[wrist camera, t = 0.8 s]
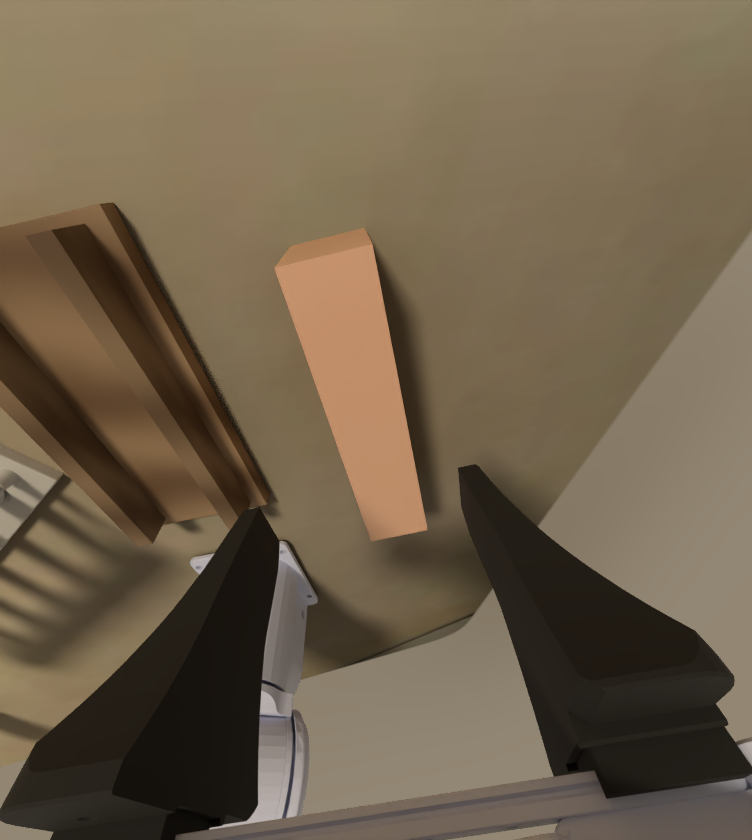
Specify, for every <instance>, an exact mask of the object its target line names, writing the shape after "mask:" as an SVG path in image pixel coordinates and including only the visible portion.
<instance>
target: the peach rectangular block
mask: <svg viewBox="0 0 752 840" xmlns="http://www.w3.org/2000/svg"><path fill="white" fill-rule="evenodd" d="M275 271H276V274H277V277H278V279H279V282H280V285H281V288H282V291H283V294H284V296H285V299H286V302H287V305H288V308H289V310H290V313H291V316H292V319H293V322H294V325H295V327H296V330H297V333H298V336H299V339H300V342H301V344H302V347H303V350H304V353H305V356H306V359H307V361H308V364H309V367H310V370H311V373H312V375H313V378H314V381H315V384H316V387H317V390H318V392H319V395H320V398H321V401H322V404H323V407H324V409H325V412H326V415H327V418H328V421H329V423H330V426H331V429H332V432H333V435H334V438H335V440H336V443H337V446H338V449H339V452H340V455H341V457H342V460H343V463H344V466H345V469H346V472H347V474H348V477H349V480H350V483H351V486H352V488H353V491H354V494H355V497H356V500H357V503H358V505H359V508H360V511H361V514H362V517H363V520H364V522H365V525H366V528H367V531H368V534H369V536H370V539H371V541H376V540H381V539H386V538H391V537H396V536H401V535H406V534H411V533H416V532H421V531H425V530H427V525H426V519H425V514H424V509H423V504H422V499H421V493H420V488H419V483H418V478H417V473H416V468H415V462H414V457H413V452H412V447H411V442H410V436H409V431H408V426H407V421H406V416H405V410H404V405H403V400H402V395H401V390H400V385H399V379H398V374H397V369H396V364H395V359H394V353H393V348H392V343H391V338H390V333H389V327H388V322H387V317H386V312H385V307H384V302H383V296H382V291H381V286H380V281H379V276H378V270H377V265H376V260H375V255H374V250H373V244H372V242H371V240H370V238H369V236H368V234H367V232H366V230H365V228H362V229H358V230H354V231H350V232H346V233H342V234H338V235H334V236H330V237H326V238H322V239H318V240H314V241H310V242H306V243H301V244H297V245H293V246H290V248H289V249H288V250H287V252H286V253H285V254H284V256H283V257H282V258H281V260H280V261H279V263H278V264H277V265H276V267H275Z"/></svg>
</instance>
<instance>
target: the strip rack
mask: <svg viewBox="0 0 752 840" xmlns="http://www.w3.org/2000/svg"><path fill="white" fill-rule="evenodd" d="M0 406H1V407H2V409H3V410H4V411H5V412H6V413H7V414H8V415H9V416H10V417H11V418H12V419H13V420H14V421H15V422H16V423H17V424H18V425H19V426H20V427H21V428H22V429H23V430H24V431H25V432H26V433H27V434H28V435H29V436H30V437H31V438H32V439H33V440H34V441H35V442H36V443H37V444H38V445H39V446H40V447H41V448H42V449H43V450H44V451H45V452H46V453H47V454H48V455H49V456H50V457H51V458H52V459H53V460H54V461H55V462H56V463H57V464H58V465H59V467H60V468H61V469H62V470H63V471H64V472H65V473H66V474H67V475H68V476H69V477H70V478H71V479H72V480H73V481H74V482H75V483H76V484H77V485H78V486H79V487H80V488H81V489H82V490H83V491H84V492H85V493H86V494H87V495H88V496H89V497H90V498H91V499H92V500H93V501H94V502H95V503H96V504H97V505H98V506H99V507H100V508H101V509H102V510H103V511H104V512H105V513H106V514H107V515H108V516H109V517H110V518H111V519H112V520H113V521H114V522H115V524H116V525H117V526H118V527H119V528H120V529H121V530H122V531H123V532H124V533H125V534H126V535H127V536H128V537H129V538H130V539H131V540H132V541H133V542H134V543H135V544H136V545H137V546H143V545H149V544H153V542H154V540H155V539H156V537H157V535H158V533H159V531H160V529H161V527H162V525H163V524H169V523H174V522H179V521H184V520H189V519H194V518H200V517H205V516H210V515H215V514H219V516H220V517H221V519H222V520H223V521H224V523H225V524H226V526H227V527H228V529H231V528H232V527H233V525H234V524H235V522H236V521H237V519H238V518H239V516H240V515H241V513H242V512H243V511H245V510H249V508H251V507H257V506H262V505H267V501H268V497H269V492H268V490H267V489H266V487H265V485H264V483H263V481H262V479H261V477H260V476H259V474H258V472H257V470H256V468H255V466H254V464H253V462H252V461H251V459H250V457H249V455H248V453H247V451H246V449H245V448H244V446H243V444H242V442H241V440H240V438H239V436H238V434H237V433H236V431H235V429H234V427H233V425H232V423H231V421H230V420H229V418H228V416H227V414H226V412H225V410H224V408H223V407H222V405H221V403H220V401H219V399H218V397H217V395H216V393H215V392H214V390H213V388H212V386H211V384H210V382H209V380H208V379H207V377H206V375H205V373H204V371H203V369H202V367H201V365H200V364H199V362H198V360H197V358H196V356H195V354H194V352H193V351H192V349H191V347H190V345H189V343H188V341H187V339H186V338H185V336H184V334H183V332H182V330H181V328H180V326H179V324H178V323H177V321H176V319H175V317H174V315H173V313H172V311H171V310H170V308H169V306H168V304H167V302H166V300H165V298H164V297H163V295H162V293H161V291H160V289H159V287H158V285H157V283H156V282H155V280H154V278H153V276H152V274H151V272H150V270H149V269H148V267H147V265H146V263H145V261H144V259H143V257H142V255H141V254H140V252H139V250H138V248H137V246H136V244H135V242H134V241H133V239H132V237H131V235H130V233H129V231H128V229H127V228H126V226H125V224H124V222H123V220H122V218H121V216H120V214H119V213H118V211H117V209H116V207H115V205H114V203H105V204H98V205H94V206H89V207H85V208H81V209H77V210H73V211H68V212H64V213H60V214H56V215H52V216H47V217H43V218H39V219H35V220H30V221H26V222H22V223H18V224H14V225H9V226H5V227H1V228H0Z"/></svg>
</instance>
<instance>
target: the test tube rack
mask: <svg viewBox="0 0 752 840" xmlns="http://www.w3.org/2000/svg"><path fill="white" fill-rule="evenodd" d="M63 474H64V473H62V472H60V471H58V470H56V469H54V468H52V467H50V466H47V465H45V464H43V463H41V462H39V461H37V460H34V459H32V458H30V457H28V456H26V455H24V454H21V453H19V452H17V451H15V450H13V449H11V448H9V447H6V446H4V445H2V444H0V551H1V550H2V549H3V547H4V546H5V545H6V544H7V542H8V541H9V540H10V539H11V538H12V536H13V535H14V534H15V533H16V531H17V530H18V529H19V528H20V527H21V525H22V524H23V523H24V522H25V521H26V519H27V518H28V517H29V516H30V514H31V513H32V512H33V511H34V510H35V508H36V507H37V506H38V505H39V503H40V502H41V501H42V500H43V499H44V497H45V496H46V495H47V494H48V493H49V491H50V490H51V489H52V488H53V486H54V485H55V484H56V483H57V482H58V480H59V479H60V478H61V477H62V475H63Z"/></svg>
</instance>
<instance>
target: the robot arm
mask: <svg viewBox="0 0 752 840" xmlns="http://www.w3.org/2000/svg"><path fill="white" fill-rule="evenodd" d="M458 472H459V484H460V496H461V507H462V510H463V514H464V517H465V520H466V523H467V527H468V530H469V533H470V535H471V538H472V540H473V542H474V545H475V547H476V550H477V552H478V554H479V556H480V559H481V561H482V563H483V566H484V568H485V570H486V573H487V575H488V577H489V580H490V582H491V584H492V587H493V589H494V591H495V594H496V596H497V599H498V601H499V604H500V606H501V609H502V612H503V615H504V618H505V621H506V624H507V627H508V630H509V634H510V637H511V640H512V643H513V646H514V649H515V652H516V655H517V658H518V661H519V665H520V667H521V671H522V674H523V677H524V680H525V684H526V687H527V690H528V693H529V697H530V700H531V703H532V706H533V710H534V713H535V716H536V720H537V723H538V726H539V730H540V733H541V736H542V740H543V743H544V747H545V750H546V753H547V757H548V760H549V764H550V767H551V770H552V772H553V775H554V777H549V778H542V779H537V780H529V781H523V782H516V783H511V784H503V785H497V786H491V787H484V788H477V789H471V790H464V791H458V792H451V793H445V794H438V795H432V796H425V797H419V798H413V799H406V800H399V801H393V802H387V803H380V804H374V805H367V806H360V807H354V808H347V809H341V810H334V811H328V812H321V813H315V814H308V815H302V816H301V814H302V810H303V805H304V800H305V794H306V788H307V780H308V769H309V738H308V732H307V728H306V725H305V723H304V721H303V718H302V716H301V714H300V712H299V711H297V710H292V706H293V696H294V694H295V692H296V690H297V688H298V685H299V683H300V680H301V676H302V668H303V656H304V644H305V631H306V619H307V607H308V605H313V604H316V603H317V602H318V597H317V595H316V594H315V592H314V590H313V588H312V586H311V585H310V583H309V581H308V579H307V577H306V576H305V574H304V572H303V570H302V568H301V567H300V565H299V563H298V561H297V560H296V558H295V556H294V554H293V552H292V551H291V549H290V547H289V545H288V544H287V543H286V542H285V541H279V540H278V538H277V536H276V535H275V533H274V531H273V530H272V528H271V526H270V524H269V523H268V521H267V519H266V518H265V516H264V514H263V513H262V511H261V509H260V508H255V509H250V510H245V511H243V512H242V513H241V515H240V516H239V518H238V519H237V521H236V522H235V524H234V525H233V527H232V528H231V530H230V531H229V533H228V534H227V536H226V537H225V539H224V540H223V542H222V543H221V545H220V546H219V548H218V549H217V551H216V552H215V553H213V554H208V555H203V556H197V557H193V558H192V559H191V562H190V565H191V566H192V567H193V568H194V569H195V571H196V572H197V573H198V574H199V576H198V578H197V579H196V580H195V582H194V583H193V584H192V586H191V587H190V588H189V590H188V591H187V592H186V594H185V595H184V596H183V598H182V599H181V600H180V601H179V603H178V604H177V605H176V606H175V607H174V609H173V610H172V611H171V612H170V613H169V615H168V616H167V617H166V618H165V619H164V620H163V622H162V623H161V624H160V625H159V626H158V627H157V629H156V630H155V631H154V632H153V633H152V634H151V635H150V636H149V637H148V638H147V639H146V640H145V642H144V643H143V644H142V645H141V646H140V647H139V648H138V649H137V650H136V651H135V652H134V653H133V654H132V655H131V656H130V657H129V659H128V660H127V661H126V662H125V663H124V664H123V665H122V666H121V667H120V668H119V669H118V670H117V671H116V672H115V673H114V674H113V675H112V676H111V677H110V678H109V679H107V680H106V681H105V682H104V683H103V684H102V685H101V686H100V687H99V688H98V689H97V690H96V691H95V692H94V693H93V694H92V695H91V696H89V697H88V698H87V699H86V700H85V701H84V702H83V703H82V704H81V705H80V706H79V707H77V708H76V709H75V710H74V711H73V712H72V713H71V714H69V715H68V716H67V717H66V718H65V719H64V720H63V721H61V722H60V723H59V724H58V725H57V726H56V727H55V728H53V729H52V730H51V731H50V732H49V733H48V734H46V735H45V736H44V737H43V738H42V739H41V740H39V741H38V742H37V743H36V744H35V746H34V748H33V749H32V751H31V753H30V755H29V757H28V759H27V760H26V762H25V764H24V766H23V768H22V770H21V771H20V773H19V775H18V777H17V779H16V781H15V783H14V784H13V786H12V788H11V790H10V792H9V794H8V796H7V797H6V799H5V801H4V803H3V805H2V807H1V808H0V821H2V822H4V823H7V824H11V825H15V826H21V827H28V828H34V829H40V830H46V831H52V832H53V835H52V837H51V839H50V840H447V839H454V838H460V837H467V836H474V835H481V834H487V833H494V832H500V831H507V830H515V829H522V828H528V827H535V826H542V825H548V824H556V823H558V825H557V826H556V828H555V833H547V834H540V835H535V836H530V837H525V838H521V839H517V840H752V737H751V738H747V739H743V740H740V741H737V742H735V741H734V740H733V738H732V737H731V736H730V734H729V733H728V731H727V730H726V728H725V727H724V726H727V725H728V721H727V719H726V718H725V716H724V715H723V714H722V712H721V711H720V709H719V708H718V706H717V705H716V703H717V702H718V701H719V700H720V699H721V698H722V697H723V696H725V695H726V694H727V693H728V692H729V691H730V690H731V689H732V687H733V686H734V676H733V674H732V673H731V672H730V670H729V669H728V668H727V667H726V665H725V664H724V663H723V662H722V660H721V659H720V658H719V656H718V655H717V654H716V653H715V652H714V651H713V650H712V649H711V647H709V645H708V644H707V643H706V642H705V641H704V640H703V639H702V638H701V637H700V636H699V635H698V634H697V632H696V631H694V630H693V629H691V628H689V627H687V626H685V625H683V624H682V623H680V622H678V621H676V620H674V619H672V618H671V617H669V616H667V615H665V614H663V613H662V612H660V611H658V610H656V609H655V608H653V607H651V606H650V605H648V604H646V603H645V602H643V601H641V600H639V599H638V598H636V597H634V596H633V595H631V594H630V593H628V592H626V591H625V590H623V589H621V588H620V587H618V586H617V585H615V584H614V583H612V582H611V581H609V580H608V579H606V578H605V577H603V576H602V575H600V574H599V573H597V572H596V571H594V570H593V569H591V568H590V567H588V566H587V565H585V564H584V563H583V562H581V561H580V560H579V559H577V558H576V557H574V556H573V555H572V554H570V553H569V552H568V551H566V550H565V549H564V548H563V547H561V546H560V545H559V544H557V543H556V542H555V541H554V540H552V539H551V538H550V537H549V536H547V535H546V534H545V533H544V532H543V531H542V530H540V529H539V528H538V527H537V526H536V525H535V524H534V523H533V522H531V521H530V520H529V519H528V518H527V517H526V516H525V515H524V514H523V513H522V512H521V511H519V510H518V509H517V508H516V507H515V506H514V505H513V504H512V503H511V502H510V501H509V500H508V499H507V498H506V497H505V496H504V495H503V494H502V493H501V491H500V490H499V489H498V488H497V487H496V486H495V485H494V484H493V483H492V482H491V481H490V479H489V478H488V477H487V476H486V475H485V473H484V472H483V471H482V470H481V469H480V467H479V466H477V465H476V464H475V465H470V466H465V467H460V468H458Z"/></svg>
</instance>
